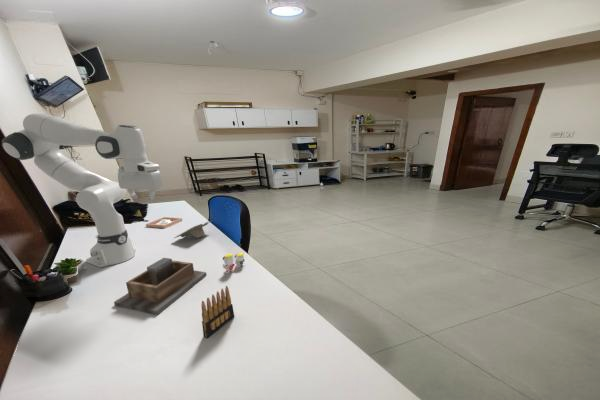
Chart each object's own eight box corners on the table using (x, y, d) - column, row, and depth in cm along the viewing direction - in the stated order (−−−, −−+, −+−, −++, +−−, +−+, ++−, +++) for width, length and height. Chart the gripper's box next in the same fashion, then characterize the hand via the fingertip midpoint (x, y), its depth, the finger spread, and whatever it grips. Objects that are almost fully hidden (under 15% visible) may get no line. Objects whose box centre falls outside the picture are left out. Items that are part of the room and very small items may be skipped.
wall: (181, 252, 145) (200, 233, 141) (171, 238, 146) (189, 220, 142) (201, 243, 163) (218, 227, 159) (192, 232, 164) (208, 215, 160)
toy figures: (241, 262, 121) (239, 246, 119) (247, 264, 118) (245, 248, 116) (220, 273, 111) (217, 256, 109) (226, 276, 109) (224, 258, 107)
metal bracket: (147, 289, 98) (142, 266, 96) (164, 279, 106) (159, 257, 103) (163, 293, 96) (159, 269, 94) (179, 281, 103) (175, 259, 101)
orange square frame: (146, 226, 177) (145, 224, 176) (164, 219, 192) (164, 216, 191) (164, 228, 172) (164, 225, 171) (182, 220, 187) (181, 218, 186)
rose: (172, 216, 184) (171, 220, 175) (173, 222, 185) (172, 226, 176) (157, 218, 181) (154, 222, 172) (158, 224, 182) (155, 228, 173)
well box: (114, 305, 92) (110, 287, 90) (169, 269, 116) (167, 254, 114) (157, 314, 86) (153, 295, 84) (206, 275, 110) (204, 259, 108)
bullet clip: (230, 315, 85) (226, 283, 82) (234, 317, 84) (230, 285, 81) (203, 336, 76) (197, 301, 73) (207, 338, 75) (201, 303, 72)
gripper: (110, 167, 103) (117, 200, 106) (149, 167, 97) (155, 202, 100) (124, 165, 109) (131, 196, 112) (162, 165, 103) (168, 198, 106)
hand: (143, 199), depth 106 cm, fingers open, 8 cm apart
